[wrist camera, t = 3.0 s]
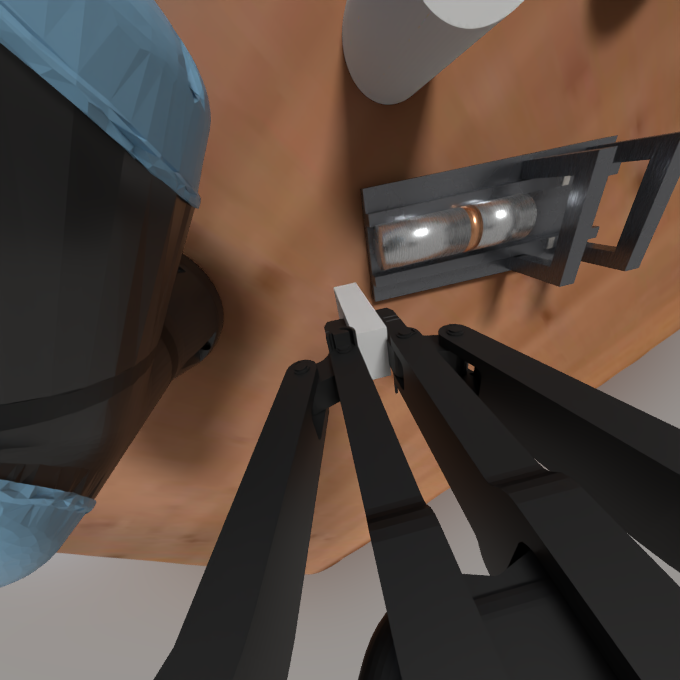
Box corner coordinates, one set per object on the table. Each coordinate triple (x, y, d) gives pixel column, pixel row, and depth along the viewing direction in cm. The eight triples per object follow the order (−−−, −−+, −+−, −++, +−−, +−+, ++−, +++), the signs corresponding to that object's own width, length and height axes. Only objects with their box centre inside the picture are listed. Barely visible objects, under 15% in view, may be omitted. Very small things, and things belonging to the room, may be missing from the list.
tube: (377, 271, 28) (389, 269, 24) (370, 229, 27) (381, 220, 23) (503, 242, 29) (537, 236, 24) (502, 200, 28) (536, 186, 23)
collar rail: (373, 298, 32) (396, 329, 24) (360, 189, 25) (387, 187, 18) (572, 252, 33) (652, 269, 25) (607, 137, 27) (725, 115, 19)
